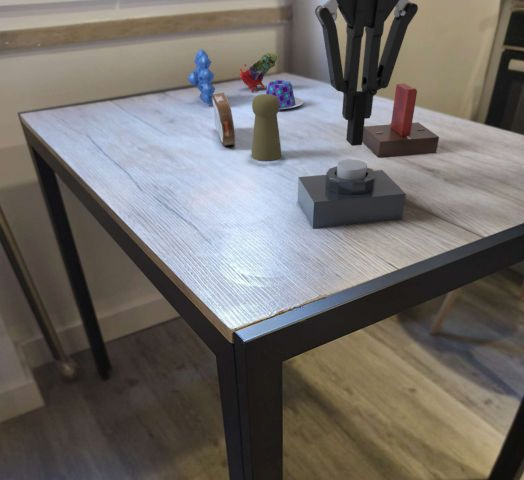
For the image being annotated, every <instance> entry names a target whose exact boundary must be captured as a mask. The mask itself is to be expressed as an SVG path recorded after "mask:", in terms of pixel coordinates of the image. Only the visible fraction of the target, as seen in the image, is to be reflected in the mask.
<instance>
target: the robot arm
mask: <svg viewBox="0 0 524 480" xmlns="http://www.w3.org/2000/svg"><path fill="white" fill-rule="evenodd" d="M337 10H339V13H340V14H341V16H342V17H343V20H344V22H345V23H346V28H345V32H346V45H345V55H344V69H343V64H342V57H341V49H340V43H339V35H338V28H337V24H336V20H337V19H338V11H337ZM418 10H419V6H418V4H417V3H414V2H411V1H410V0H328V1H326V2H325V3H324V4H323V5H321V4H320V5H317V6H316V7H315V10H314V14H315V16H316V18H317V20H318V22H319V24H320V26H321V28H322V35H323V41H324V42H323V43H324V50H325V55H326V61H327V69H328V74H329V75H328V76H329V81H330V86H331V87H332V88H334V90H336V91H337V92H341V93H342V94H343V98H342V112H341V114H342V118H343V119H344V120H345V121H347V126H346V136H345V137H346V138H345V140H346V142H347V143H349V145H350V146H351V147H355V146H362V145H363V142H362V140H363V130H364V126H365V120H366V119H368V120H369V119H370V118H371V116H372V111H373V104H374V96H376V95H377V94H378V91H379V90H381V89H387V88H388V87H389V84H390V81H391V79H392V75H393V72H394V68H395V66H396V63H397V61H398V57H399V54H400V51H401V48H402V45H403V42H404V40H405V36H406V33H407V30H408V26H409V25H410V24H411V22H412V20H413V19H414V17H415V16H416V14H417V13H418ZM392 12H393V15H394V17H393V20H392V21H391V25H390V28H389V30H388V34H387V37H386V41H385V43H384V47H383V50H382V53H380V52H381V43H382V37H383V34H384V28H385V22H386V21H387V20H388V18H389V16H390V15H391V13H392ZM364 33H365V41H364V50H363V51H364V52H363V62H362V63H363V64H362V73H361V84H360V85H361V86H360V88H361V90H358V84H359V72H360V61H361V53H362V52H361V51H362V42H363V41H362V40H363V37H364ZM380 54H381V57H380Z"/></svg>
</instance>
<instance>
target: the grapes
mask: <svg viewBox="0 0 524 480" xmlns="http://www.w3.org/2000/svg"><path fill="white" fill-rule="evenodd" d="M194 57H195V58H194V60H193V62H194V63H195V65H196V66H195V68H194V70H193V71H191V72H190V73H189V74H188V77H187V81H189V83H190V84H191V85H193V86H194V87H196V88H197V89H198V91H199V92H200V94H199V98H200V100H201V101H202V102H203V103H205V104H206V105H211V104H213V103H212V95H213V94H215V93H214V92H215V91H216V88H215V87H214V85H213V84H212V82H213V80H214V78H215V74H214V73H213V72H212V71H211V69H209V68H210V67H211V64H212V61H211V59H210V58H209V54H208V53H207V52H206V51H205V50H204V49H202V48H201V49H199V50H198V51H197V53H196V54H195V56H194Z"/></svg>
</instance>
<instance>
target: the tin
mask: <svg viewBox="0 0 524 480" xmlns="http://www.w3.org/2000/svg"><path fill="white" fill-rule="evenodd" d="M211 104H212V106H213V112H214V123H215V128H216V132H217V136H218V138H219V141H220V143H221V146H223V147H225V146H227V147H228V146H235V145H236V133H235V125H234V118H233V113H232V108H231V104H230V101H229V100H228V98H227V95H226V94H225V92H220V93H219V92H218V93H213V95H212V103H211Z"/></svg>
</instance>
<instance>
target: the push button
mask: <svg viewBox="0 0 524 480" xmlns="http://www.w3.org/2000/svg"><path fill="white" fill-rule="evenodd" d="M336 166H337V177H339V178H342V179H348V180H357V179H362V178H365V177H366V170H367V168H368V164H367V163H366V162H365V161H363V160H360V159H352V158H351V159H342V160H340V161H338V162H337V165H336Z"/></svg>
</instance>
